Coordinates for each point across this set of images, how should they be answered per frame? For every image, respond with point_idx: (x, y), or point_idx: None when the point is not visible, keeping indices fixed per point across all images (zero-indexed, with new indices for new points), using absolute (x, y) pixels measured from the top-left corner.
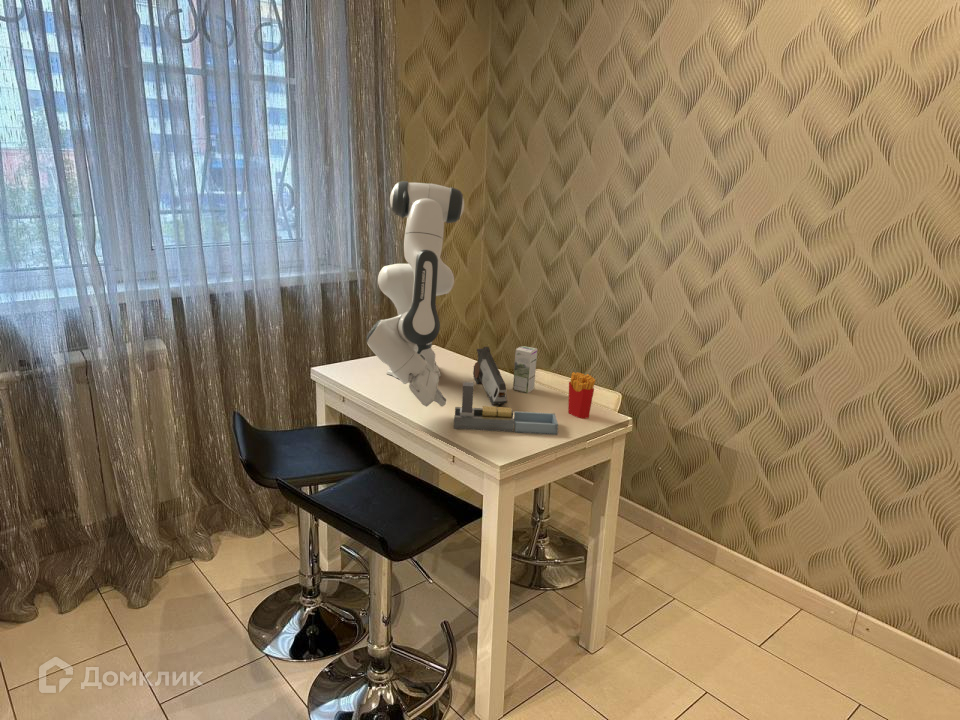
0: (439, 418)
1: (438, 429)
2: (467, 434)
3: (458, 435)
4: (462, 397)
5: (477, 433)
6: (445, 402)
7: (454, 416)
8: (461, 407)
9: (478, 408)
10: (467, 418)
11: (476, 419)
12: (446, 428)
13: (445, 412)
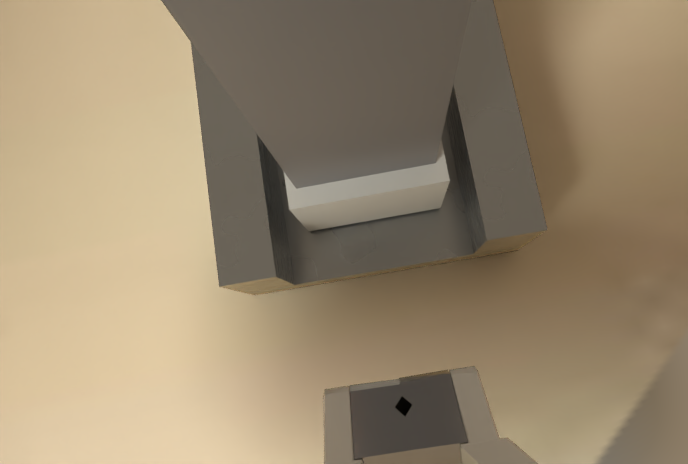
0: (306, 436)
1: (584, 385)
2: (599, 109)
3: (654, 177)
4: (451, 81)
5: (545, 38)
6: (475, 370)
7: (524, 231)
8: (221, 217)
9: None
10: (511, 93)
11: (492, 9)
12: (531, 316)
13: (139, 411)
